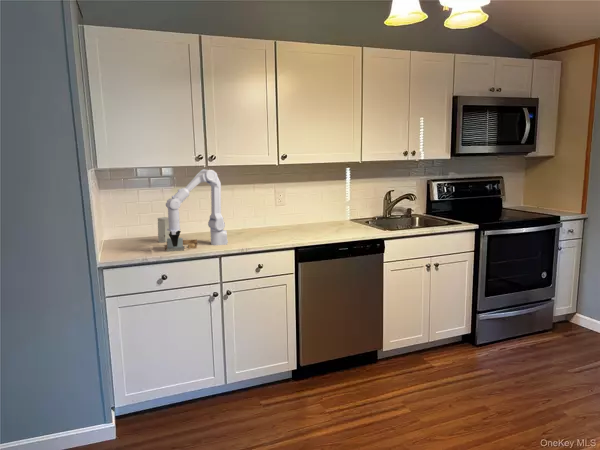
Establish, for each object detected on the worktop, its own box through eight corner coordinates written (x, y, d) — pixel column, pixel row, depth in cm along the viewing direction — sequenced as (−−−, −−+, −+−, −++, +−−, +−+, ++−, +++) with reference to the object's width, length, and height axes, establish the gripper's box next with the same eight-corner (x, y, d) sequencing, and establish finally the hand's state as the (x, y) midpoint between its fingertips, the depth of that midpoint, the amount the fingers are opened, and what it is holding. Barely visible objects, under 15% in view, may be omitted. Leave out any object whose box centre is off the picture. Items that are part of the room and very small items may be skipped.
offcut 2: (194, 246, 261) (194, 244, 260) (194, 248, 257) (194, 245, 256) (188, 247, 260) (188, 244, 260) (188, 248, 256) (188, 245, 256)
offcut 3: (194, 248, 256) (194, 246, 256) (194, 250, 252) (194, 247, 252) (188, 249, 255) (188, 246, 255) (188, 250, 251) (188, 247, 251)
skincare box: (158, 242, 273) (156, 217, 270) (166, 240, 277) (165, 216, 275) (165, 244, 267) (164, 219, 265) (174, 242, 272) (173, 217, 269)
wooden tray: (197, 245, 262) (196, 239, 262) (196, 249, 251) (196, 243, 250) (167, 246, 259) (166, 240, 259) (165, 251, 247) (164, 245, 247)
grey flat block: (168, 251, 246) (167, 238, 245) (183, 250, 247) (182, 237, 246) (167, 251, 244) (167, 239, 243) (183, 250, 246) (182, 238, 245)
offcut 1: (193, 246, 255) (193, 243, 255) (194, 247, 252) (194, 244, 252) (188, 246, 254) (188, 243, 254) (188, 247, 252) (188, 244, 251)
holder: (184, 250, 249) (184, 246, 249) (184, 252, 245) (184, 247, 244) (167, 251, 247) (167, 247, 247) (167, 253, 243) (166, 248, 243)
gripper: (167, 219, 249) (169, 243, 252) (165, 223, 235) (166, 248, 238) (180, 218, 251) (182, 242, 253) (179, 222, 237) (180, 247, 239)
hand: (175, 245), depth 245 cm, fingers open, 5 cm apart
